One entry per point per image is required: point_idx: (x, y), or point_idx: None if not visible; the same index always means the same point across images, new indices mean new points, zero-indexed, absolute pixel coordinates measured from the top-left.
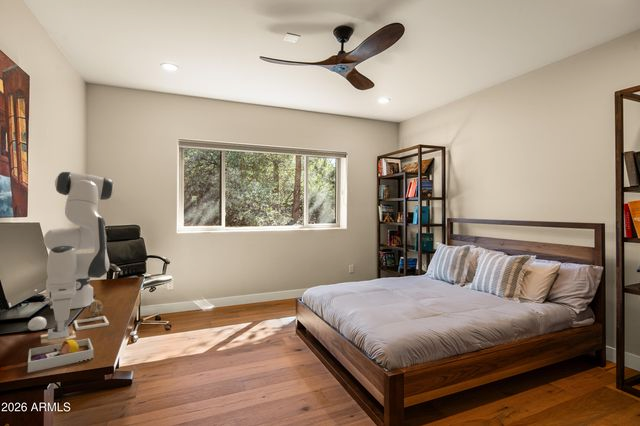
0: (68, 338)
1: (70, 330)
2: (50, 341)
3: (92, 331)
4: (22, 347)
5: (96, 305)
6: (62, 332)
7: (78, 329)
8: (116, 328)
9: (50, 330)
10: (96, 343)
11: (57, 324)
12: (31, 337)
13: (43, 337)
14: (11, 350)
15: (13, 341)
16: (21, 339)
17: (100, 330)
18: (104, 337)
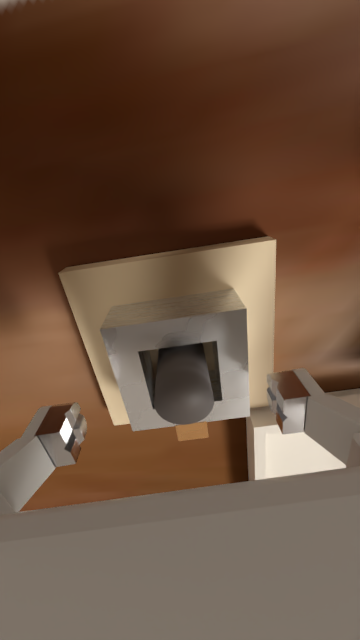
0: (108, 397)
1: None
2: (84, 321)
3: (228, 455)
4: (83, 142)
5: None
6: (123, 397)
7: (250, 426)
8: None
9: (192, 330)
10: None
11: (268, 377)
12: (323, 164)
13: (199, 267)
14: (29, 57)
15: (300, 9)
16: (319, 83)
17: (224, 477)
18: (109, 492)
